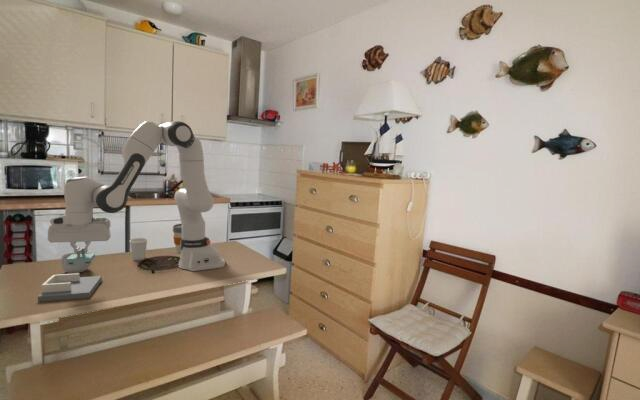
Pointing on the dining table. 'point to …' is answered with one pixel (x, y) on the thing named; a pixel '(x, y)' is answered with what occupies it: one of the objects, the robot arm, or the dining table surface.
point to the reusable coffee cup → (177, 237)
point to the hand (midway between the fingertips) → (80, 252)
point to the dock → (68, 287)
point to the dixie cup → (138, 248)
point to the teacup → (74, 264)
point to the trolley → (80, 257)
